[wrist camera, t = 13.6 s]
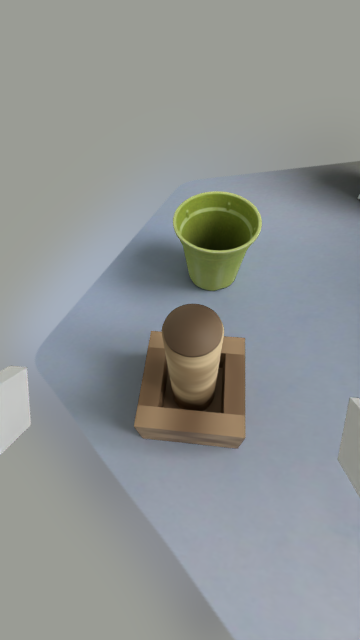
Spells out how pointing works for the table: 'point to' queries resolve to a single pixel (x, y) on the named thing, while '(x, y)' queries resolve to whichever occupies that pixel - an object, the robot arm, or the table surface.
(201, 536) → the table surface
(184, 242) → the plant pot
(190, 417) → the socket block
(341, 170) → the table surface
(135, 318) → the table surface
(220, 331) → the dowel
